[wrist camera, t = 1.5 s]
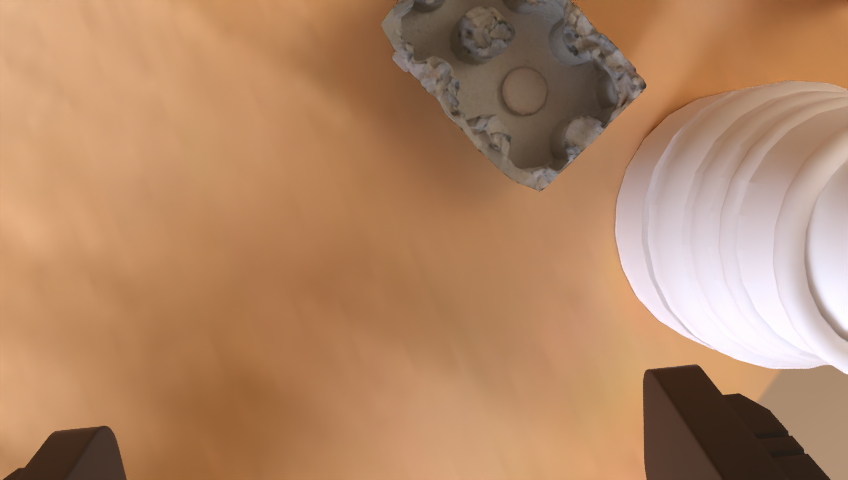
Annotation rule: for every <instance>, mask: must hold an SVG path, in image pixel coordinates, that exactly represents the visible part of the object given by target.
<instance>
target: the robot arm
mask: <svg viewBox="0 0 848 480" xmlns="http://www.w3.org/2000/svg"><path fill="white" fill-rule="evenodd" d="M643 412H644V463H645V472H646V478H647V480H830V479H829V477H828V476H827V475H826V474H825V473H824V472H823V471H822V470H821V468H820V467H819V466H818V465H817V464H816V463H815V461H814V460H813V459H812V458H811V457H810V456H809V455H808V454H805V453H804V449H803V448H802V447H801V446H800V445H799V443H798V442H797V441H796V440H795V439H794V438H793V436H789V434H788V431H787V430H786V429H785V427H784V426H783V425H782V424H781V423H780V422H779V420H777V418H776V417H775V416H774V415H773V414H772V413H771V411H770V410H768V409H766V408H765V407H763V406H761V405H759V404H757V403H756V402H754V401H752V400H750V399H748V398H747V397H745V396H743V395H741V394H739V393H738V394H729V395H722V394H721V392H720V391H719V390H718V389H717V387H716V386H715V385H714V384H713V382H712V381H711V380H710V378H709V377H708V376H707V375H706V373H705V372H704V371H703V370H702V368H701V367H700V366H698V365H685V366H676V367H667V368H657V369H648V370H646V372H645V374H644V379H643ZM3 480H127V479H126V475H125V471H124V467H123V463H122V459H121V455H120V451H119V447H118V444H117V440H116V437H115V435H114V433H113V431H112V430H111V429H110V428H109V427H107V426H99V427H90V428H80V429H71V430H61V431H55V432H53V433H52V434H51V435H50V436H49V437H48V438H47V440H46V441H45V442H44V444H43V445H42V446H41V447H40V449H39V450H38V451H37V453H36V454H35V455H34V456H33V458H32V459H31V460H30V462H29V463H28V464H27V465H26V467H25V468H18V469H17V470H15V471H14V472H13V473H11V474H10V475H8V476H7V477H6V478H4V479H3Z"/></svg>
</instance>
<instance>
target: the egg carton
mask: <svg viewBox="0 0 848 480" xmlns="http://www.w3.org/2000/svg"><path fill="white" fill-rule="evenodd" d="M381 25H382V29H383V31H384V33H385V34H386V36H387V38H388V40H389V42H390V43H391V45H392V47H393V48H394V50H395V52H394V54H393V55H392V60H393V61H394V62H395V63H396V64H397V65H398V66H399V67H400V68H401V69H402V70H403V71H404V72H408V71H410V72H411V74H412V75H413V76H414V77H415V78H416V79H418V80H419V81H420V82H421V84H422V86H423V88H424V89H425V90H426V91H427V92H428V93H430V94H432V95H433V96H434V97H435V98H437V100H438V101H439V103H440V104H441V106H442V107H443V111H444V112H445V114H446V115H447V116H448V117H449V118H450V119H451V120H452V121H453V122H454V123H456V124H457V125H458V126H459V127H460V128H461V129H462V130H463V132H464V133H465V134H466V135H467V137H468V138H469V139H470V140H471V141H472V143H473V144H474V145H475V146H476V148H477V149H478V150H479V151H480V152H481V153H482V154H483V155H484V156H486V157H487V158H488V159H489V160H490V161H491V162H492V163H493V164H494V165H495V166H496V167H498V168H499V169H500V170H501V171H502V172H503V173H504V174H505V175H507V176H508V177H509V178H510V179H512V180H514V181H516V182H517V183H520V184H522V185H525V186H528V187H531V188H533V189H536V190H537V191H539V192H540V191H541V190H543V189H544V188H545V187H546V186H547V185H548V184H549V183H551V182H552V181H553V180H554V179H555V178H556V177H557V175H558V174H559V173H561V172H562V171H563V170H564V169H565V168H566V167H567V166H568V165H569V164H570V163H571V162H572V161H573V160H574V159H575V158H576V157H577V156H578V155H579V154H580V153H581V152H582V151H583V150H584V149H585V148H586V147H587V146H589V145H590V144H591V143H592V142H593V141H594V140H595V139H596V138H597V137H598V136H599V135H600V134H601V133H602V132H603V131H604V129H605V128H606V127H607V126H608V124H609V123H610V122H611V121H612V120H614V119H615V118H616V117H617V116H618V115H619V114H620V113H621V112H622V111H623V110H624V109H625V108H626V107H627V106H628V105H629V104H630V103H631V102H632V101H633V100H634V99H635V98H636V97H637V96H638V95H639V94H640V93H641V92H642V91H643V90H644V89H645V88H646V84H645V82H644V80H643V79H642V78H641V77H640V76H639V75H638V74H637V73H636V69H635V67H634V66H633V65H632V64H631V63H630V62H629V61H628V60H627V59H626V58H625V57H624V56H623V54H622V53H621V52H620V50H619V49H618V48H617V47H616V46H615V45H614V44H613V43H612V42H611V41H610V40H609V39H608V38H607V37H606V36H605V35H604V34H602V33H599V32H598V31H597V30H596V29H595V28H594V27H593V26H592V24H591V23H590V22H589V21H588V19H587V18H586V17H585V15H584V14H583V12H582V11H581V10H580V8H579V7H578V6H576V5H575V4H573V3H572V2H571V1H570V0H399V1H398V2H397V3H396V4H395V6H394V7H393V8H392V9H391V10H390V12H389V13H388V14H387V16H386V17H385V19H384V20H383V22H382V23H381Z"/></svg>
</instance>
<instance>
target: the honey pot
mask: <svg viewBox="0 0 848 480" xmlns="http://www.w3.org/2000/svg"><path fill="white" fill-rule="evenodd" d="M615 237H616V242H617V247H618V252H619V256H620V261H621V266H622V269H623V271H624V273H625V275H626V277H627V279H628V281H629V283H630V285H631V287H632V289H633V291H634V293H635V295H636V296H637V298H638V299H639V300H640V301H641V302H642V303H643V304H644V305H645V306H646V307H647V309H648V310H649V311H650V312H651V313H652V314H653V315H654V316H655V317H656V318H657V320H659V321H660V322H662V323H664V324H665V325H667V326H668V327H670V328H672V329H673V330H675V331H676V332H678V333H680V334H681V335H683V336H685V337H687V338H689V339H691V340H694V341H696V342H698V343H700V344H703V345H705V346H707V347H709V348H711V349H714V350H716V351H719V352H721V353H723V354H726V355H729V356H731V357H732V358H734V359H737V360H740V361H744V362H748V363H751V364H755V365H758V366H762V367H766V368H772V369H803V368H804V369H805V368H806V369H808V368H809V369H810V368H813V367H817V366H821V365H833V366H834V367H836V368H837V369H839V370H841V371H842V372H844V373H845V374H848V89H845V88H842V87H839V86H836V85H833V84H831V83H824V82H809V81H787V80H786V81H782V82H778V83H771V84H767V85H766V84H765V85H760V86H754V87H749V88H744V89H739V90H733V91H728V92H724V93H720V94H716V95H712V96H708V97H704V98H699V99H696V100H695V101H693V102H691V103H689V104H687V105H686V106H684V107H682V108H680V109H678V110H677V111H675V112H673V113H671V114H670V115H668V116H667V117H666V118H665V119H664V120H663V121H662V122H661V123H660V124H659V125H658V126H657V127H656V128H655V129H654V130H653V131H652V132H651V133H650V134H649V135H648V136H647V137H645V138H644V140H643V142H642V143H641V145H640V147H639V148H638V150H637V152H636V153H635V155H634V156H633V158H632V160H631V161H630V163H629V165H628V166H627V168H626V171H625V175H624V178H623V181H622V185H621V188H620V191H619V194H618V198H617V202H616V224H615Z"/></svg>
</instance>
